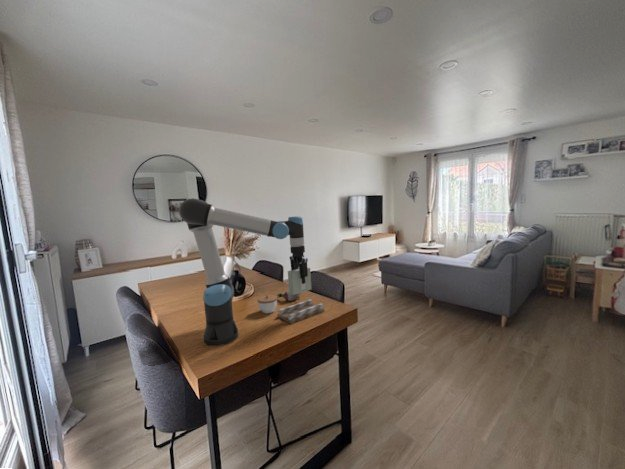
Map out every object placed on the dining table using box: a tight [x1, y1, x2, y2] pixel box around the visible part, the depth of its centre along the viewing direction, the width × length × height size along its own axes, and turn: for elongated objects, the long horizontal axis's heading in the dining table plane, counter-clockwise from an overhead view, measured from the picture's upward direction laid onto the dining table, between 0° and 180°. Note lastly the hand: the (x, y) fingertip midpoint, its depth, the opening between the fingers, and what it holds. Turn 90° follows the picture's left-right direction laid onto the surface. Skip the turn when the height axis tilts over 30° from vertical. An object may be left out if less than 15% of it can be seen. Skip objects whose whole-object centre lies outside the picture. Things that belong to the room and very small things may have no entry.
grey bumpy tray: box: [277, 299, 325, 325], centre depth 141 cm, size 22×13×4 cm, turn 129°
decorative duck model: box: [276, 288, 301, 302], centre depth 166 cm, size 15×8×15 cm
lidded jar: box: [257, 294, 278, 314], centre depth 147 cm, size 11×11×9 cm
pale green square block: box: [287, 266, 312, 295], centre depth 139 cm, size 4×12×12 cm, turn 129°
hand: (300, 288), depth 140 cm, fingers closed on pale green square block, 4 cm apart
